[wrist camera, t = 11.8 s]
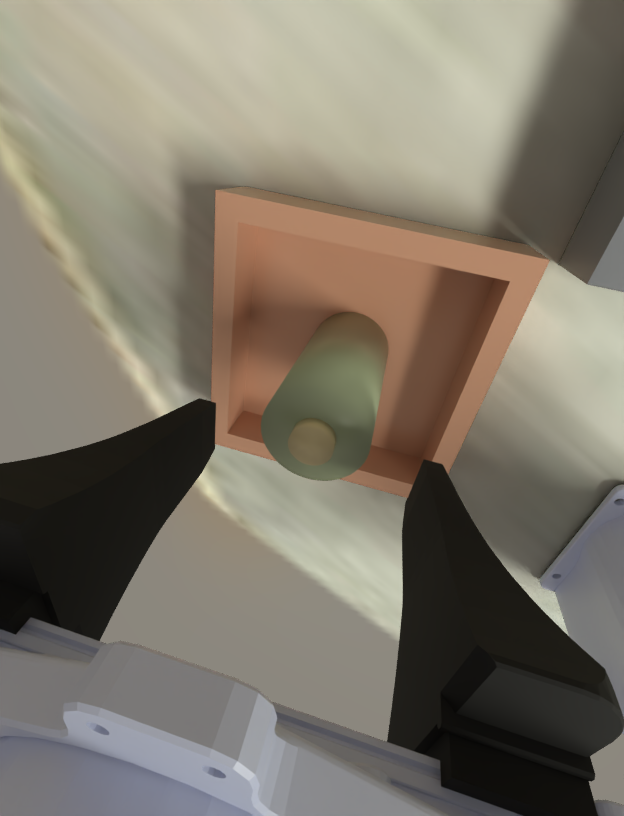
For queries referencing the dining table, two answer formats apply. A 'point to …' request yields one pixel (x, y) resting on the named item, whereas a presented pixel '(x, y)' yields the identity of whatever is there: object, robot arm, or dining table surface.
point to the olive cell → (329, 400)
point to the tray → (373, 297)
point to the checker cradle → (601, 231)
